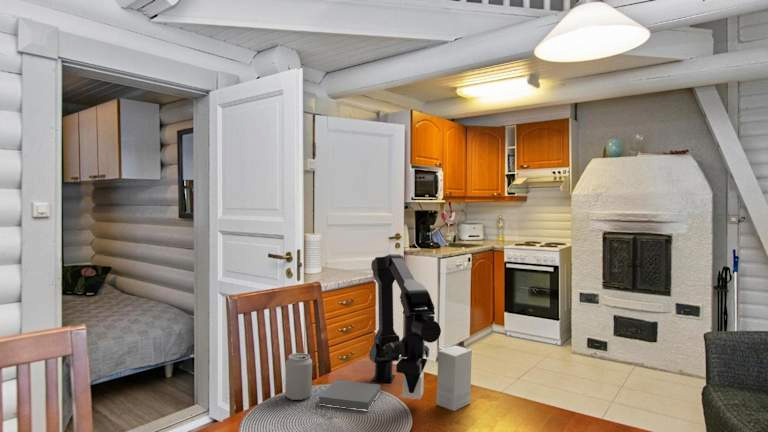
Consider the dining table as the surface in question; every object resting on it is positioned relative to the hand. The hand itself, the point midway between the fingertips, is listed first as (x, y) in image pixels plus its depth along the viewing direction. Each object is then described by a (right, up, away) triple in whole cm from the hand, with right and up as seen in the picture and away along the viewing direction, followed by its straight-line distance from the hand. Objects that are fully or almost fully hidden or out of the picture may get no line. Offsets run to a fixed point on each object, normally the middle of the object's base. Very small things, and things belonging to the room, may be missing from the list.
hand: (413, 389), depth 129 cm
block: (0, -2, 0) cm, 2 cm away
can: (-33, -4, +5) cm, 34 cm away
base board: (-18, -4, +4) cm, 19 cm away
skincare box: (+12, -5, +2) cm, 13 cm away
